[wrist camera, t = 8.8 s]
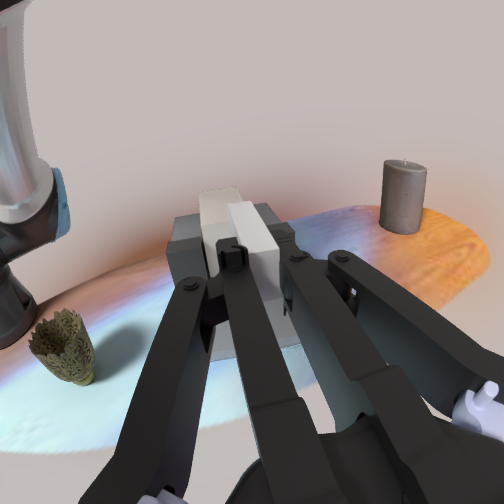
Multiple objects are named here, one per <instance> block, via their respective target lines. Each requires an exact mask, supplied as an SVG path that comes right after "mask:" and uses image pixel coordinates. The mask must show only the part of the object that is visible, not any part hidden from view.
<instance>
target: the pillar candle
mask: <svg viewBox="0 0 504 504" xmlns="http://www.w3.org/2000/svg"><path fill="white" fill-rule="evenodd" d="M404 160H405V161H401V160H386V161H384V168H383V185H382V198H381V209H380V220H379V224H380V226H381V227H383V228H384V229H386V230H388V231H391V232H394V233H397V234H414V233H416V232H418V230H419V226H420V220H421V214H422V208H423V201H424V192H425V183H426V175H427V168H425V167H424V166H421V165H419V164H416V163H412V162H408V161H406V159H404Z"/></svg>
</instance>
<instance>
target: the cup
mask: <svg viewBox="0 0 504 504" xmlns="http://www.w3.org/2000/svg"><path fill="white" fill-rule="evenodd" d="M54 317H55V318H54V319H53V320H52V319H51V320H50V321H49V322H48V321H46V320H45V319H44V318H43V319H42V323H43V324H41V323H36V324H35V331H36V333H33V332H31V337H32V339H33V340H28V341H29V343H30V345H28V346H29V348H30V349H31V352H32V353H33V354H34V355H35V356H36V357H37V358H38V359H39V360H40V362H41V363H42V364H43V365H44V366H45V367H46V368H47V369H48V370H49V371H50V372H51V373H53V374H54V375H55V376H56V377H58V378H59V379H61V380H64V381H67V382H73V383H74V384H76V385H79V386H85V385H87V384H89V383H90V382H91V381H92V380H93V379H94V376H95V369H94V362H95V353H94V349H93V346H92V343H91V340H90V338H89V336H88V333H87V331H86V329H85V326H84V324H83V321H82V318H81V317H80V315H79V313H78V316H77V314H76V313H75V311H74V310H73V312H72V313H71V312H70V311H69V310H66V309H62V311H61V312H60V313H59V312H58V311H55V312H54Z"/></svg>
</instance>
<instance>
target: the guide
mask: <svg viewBox="0 0 504 504" xmlns="http://www.w3.org/2000/svg"><path fill="white" fill-rule="evenodd" d="M254 207H255V209H256V210H257V212H258V214H259V215H260V217H261V219H262V220H263V222H264V224H265V225H266V227H267V229H268V230H269V231H271V230H278V229H282V230H284V231H285V232H287V233H288V234H289V236H290V238H292V240H293V241H294V243H295V232H294V230H293V229H292V228H291V227H290V225H289V224H288V223H287V222H284V223H282V222H281V221H280V220H279V218H278V217H277V216H276V215H275V213H274V212H273V211H272V210H271V208H270V207H269V206H268V204H267V203H261V204H254ZM166 256H167V260H168V264H169V267H170V271H171V274H172V278H173V281H174V285H175V287H176V285H177V283H178V282H179V281H181V280H182V279H184V278H187V277H191V276H199V277H202V278H204V279H205V281H207V280H210V279H212V278H213V277H210V272H209V267H208V262H207V257H206V251H205V246H204V241H203V235H202V230H201V222H200V213H199V214H192V215H187V216H181V217H176V218H175V221H174V226H173V232H172V238H171V242H168V245H167V251H166ZM263 304H264V306H265V309H266V312H267V315H268V317H269V320H270V323H271V325H272V328H273V331H274V333H275V336H276V339H277V342H278V344H279V347H280V348H283V347H287V346H291V345H295V344H299V343H301V342H300V339H299V337H298V335H297V333H296V330H295V328H294V326H293V324H292V322H291V319H290V317H289V315H288V313H287V311H286V316H284V313H283V293H282V291H281V298H277V299H272V300H267V301H263ZM235 357H236V353H235V349H234V344H233V339H232V334H231V329H230V324H229V320H227V321H225V322H223V323H221V324H218V325H216V332H215V338H214V343H213V348H212V353H211V359H210V362H211V361H217V360H223V359H229V358H235Z"/></svg>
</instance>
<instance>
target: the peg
mask: <svg viewBox="0 0 504 504" xmlns="http://www.w3.org/2000/svg"><path fill="white" fill-rule="evenodd" d="M239 202H244V200H243V198H242V196H241V195H240V193H239V191H238V190H237V188H236V187H232V188H225V189H219V190H213V191H207V192H200V193H199V205H200V222H201V230H202V235H203V241H204V246H205V251H206V257H207V262H208V267H209V272H210V277H215V276H216V275H217V274H218V272H219V265H218V259H217V252H216V246H215V244H216V242H217V241H218V239H224V238H231V229H230V221H229V213H228V204H232V203H239Z"/></svg>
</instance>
